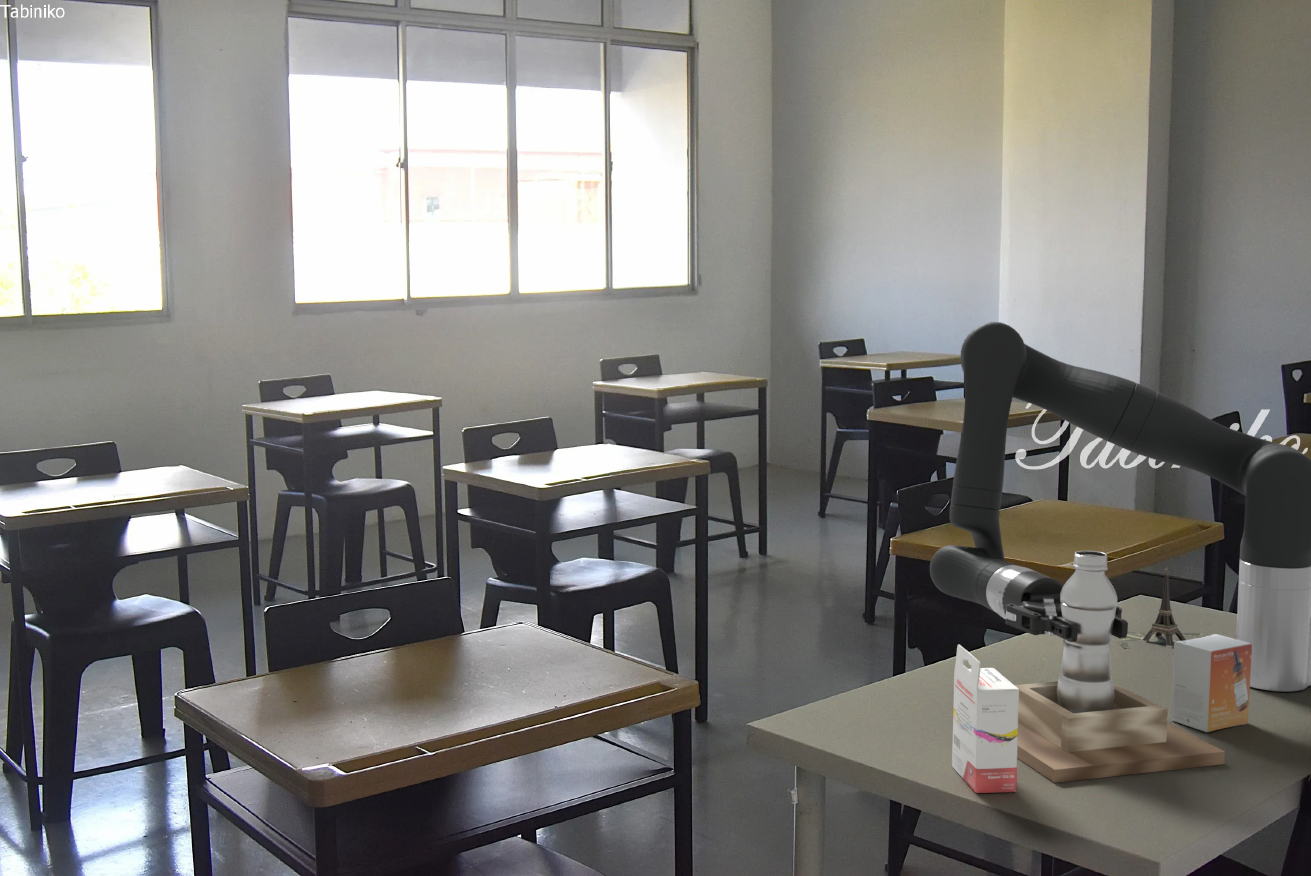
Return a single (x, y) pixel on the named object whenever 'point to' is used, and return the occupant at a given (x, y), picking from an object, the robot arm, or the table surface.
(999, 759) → the ink cartridge box
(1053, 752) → the socket board
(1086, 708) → the silver metal bottle
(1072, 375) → the robot arm
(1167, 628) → the eiffel tower figurine
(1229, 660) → the small box
